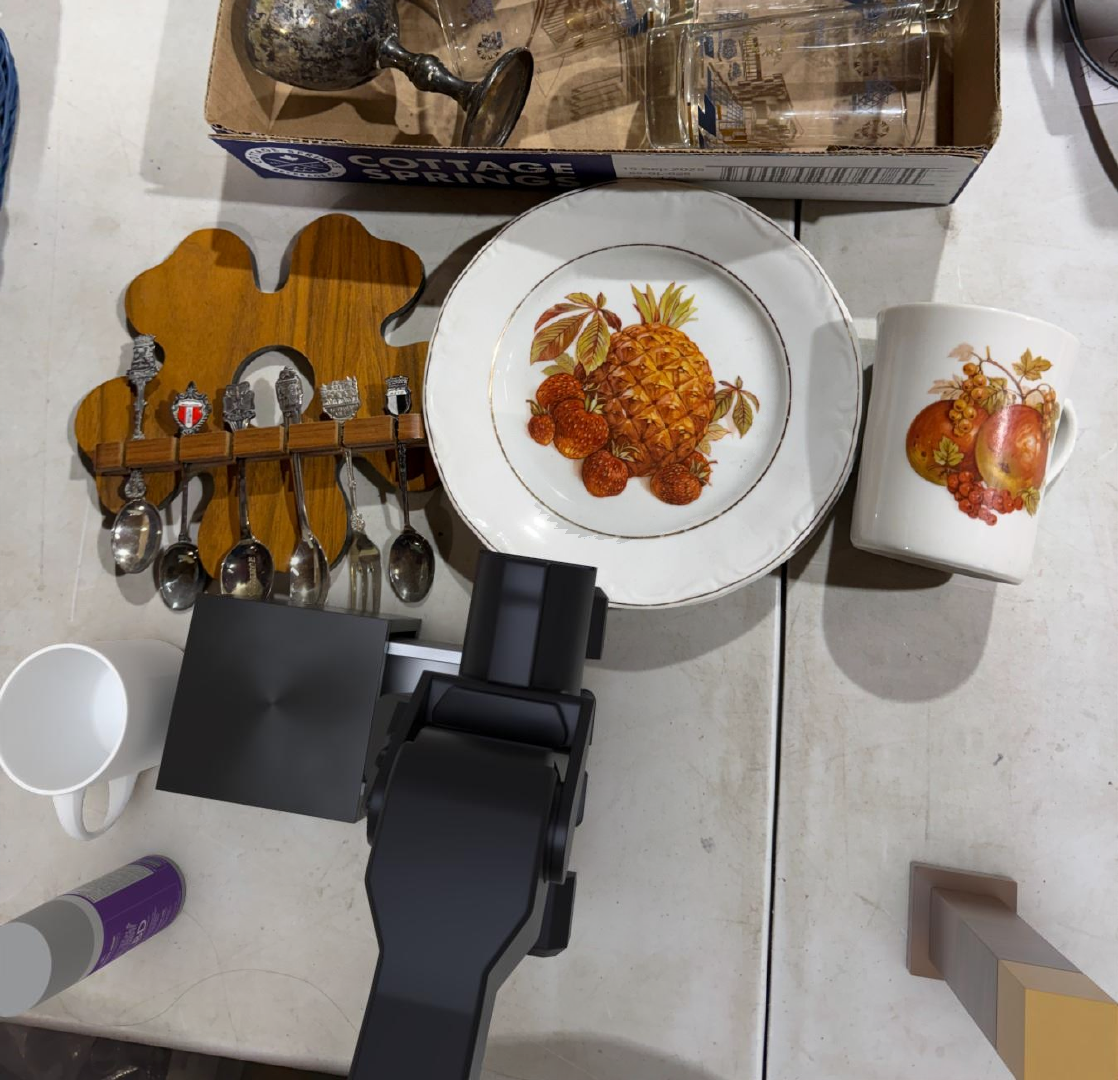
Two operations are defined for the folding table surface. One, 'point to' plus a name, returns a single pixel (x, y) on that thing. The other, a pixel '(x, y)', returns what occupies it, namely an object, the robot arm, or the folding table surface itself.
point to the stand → (971, 936)
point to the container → (85, 930)
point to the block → (1055, 1024)
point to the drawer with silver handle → (416, 663)
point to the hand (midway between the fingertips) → (551, 736)
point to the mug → (87, 721)
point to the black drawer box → (278, 704)
